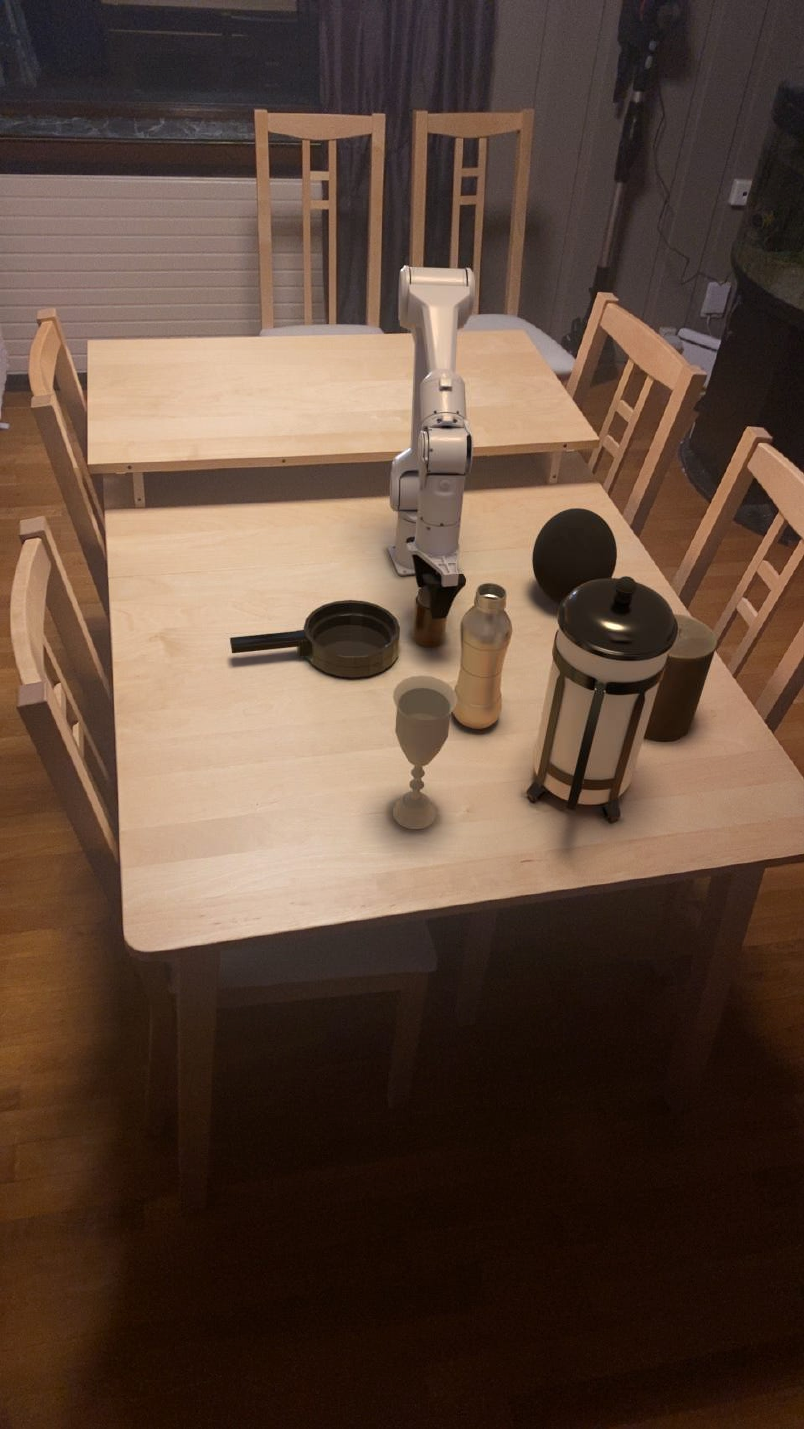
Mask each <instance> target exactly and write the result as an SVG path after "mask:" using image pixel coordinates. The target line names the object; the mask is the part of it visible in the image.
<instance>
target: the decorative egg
mask: <svg viewBox="0 0 804 1429" xmlns="http://www.w3.org/2000/svg"><path fill="white" fill-rule="evenodd" d="M616 541H617V540H616V538H615V535H614V533H613V530H612V529H611V527H610V525H609V524H608V522H607V521H606V520H605V519H604V518H603V517H602V516H601V515H599V514H598V513H596V512H594V511H592V510H590V509H586V508H581V507H580V508H579V507H577V508H576V507H575V508H568V509H565V510H562V511H559V512H558V513H556V514H555V515H553V516H552V517H551V518H550V519H549V520H547V521H546V523H544V525H543V526H542V527H541V529H540V530H539V532H538V534H537V536H536V539H535V540H534V543H533V544H534V545H533V549H532V556H531V557H532V558H531V563H532V571H533V575H534V578H535V580H536V583H537V585H538V587H539V589H541V591H542V592H543V593H544V594H545V595H546V596H547V598H549V599H551V600H552V601H554V602H556V603H558V604H559V605H560V604H561V602H562V601H563V599H564V598H565V597H566V596H568V595H569V594H570V593H571V592H572V591H573V590H574V589H575V588H577V587H578V586H580V585H582V584H584V583H586V582H589V581H592V580H596V579H602V578H613V575H614V573H615V571H616V567H617V559H618V546H617V542H616Z"/></svg>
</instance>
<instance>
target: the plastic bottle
mask: <svg viewBox="0 0 804 1429" xmlns="http://www.w3.org/2000/svg"><path fill="white" fill-rule="evenodd" d="M475 590H476V591H475V596H474V599H473V606H471V607H470V608H469V609H468V610H467V611H466V612H465V613H464V615H463V617H462V619H461V620H460V625H459V632H460V634H459V635H460V665H459V672H458V675H457V681H456V685H455V687H454V688H453V690H454V692H455V694H456V697H457V699H456V705H455V707H454V709H453V711H452V713H453V716H454V717H455V719H456V720H457V721H458V722H459V724H461V725H462V726H464V727H466V728H470V729H473V730H478V729H479V730H481V729H486V728H489V727H491V726H492V725H493V724H494V723H496V721H497V720H498V719H499V716H500V713H501V711H502V706H503V703H502V698H503V697H502V691H501V690H502V674H503V667H504V662H505V658H506V655H507V653H508V652H507V651H508V649H509V646H510V642H511V640H512V635H513V625H512V620H511V618H510V617H509V614H508V613H507V612H506V610H505V609H506V608H507V607H506V606H507V596H508V594H507V589H506V588H504V586H502V585H500V584H498V583H493V582H484V583H481V584H479V585H478V586H477V587H476V589H475Z"/></svg>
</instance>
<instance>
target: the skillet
mask: <svg viewBox="0 0 804 1429" xmlns="http://www.w3.org/2000/svg"><path fill="white" fill-rule="evenodd" d="M303 630H304V633H305V637H306V640H307V657H306V658H307V659H308V660H309V662H310V663H311V664H312V666H314V667H316V668H318V669H319V670H321V671H323V672H324V673H327V674H330V675H334V676H337V677H344V678H345V677H346V678H361V677H362V678H363V677H370V676H372V675H376V674H378V673H382V672H383V671H385V670H386V669H387V668H389V667H390V666H392V665H393V664H394V663H395V661H396V660H397V658H398V656H399V649H400V636H401V626H400V624H399V621H398V619H397V618H396V617H395V615H394V614H392V612H391V611H389V610H388V609H386V608H384V607H383V606H381V605H379V604H376V603H372V602H370V601H367V600H356V599H344V600H335V601H331V602H328V603H325V604H322V605H321V606H318V607H317V608H316V609H314V610H312V611H311V612H310V613H309V615H308V616H307V617H306V618H305V621H304V625H303Z"/></svg>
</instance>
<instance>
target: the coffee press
mask: <svg viewBox="0 0 804 1429" xmlns="http://www.w3.org/2000/svg"><path fill="white" fill-rule="evenodd" d="M674 614H675V613H674V612H673V609H672V607H671V606H670V604H669V603H668V601H667V600H666V599H665V597H664V596H662V595H661V594H660V593H659V592H657V591H656V590H654V589H653V588H651V587H649V586H647V585H645V584H643V583H640V582H638V581H636V580H635V579H634V578H633V577H631V576H629V575H628V576H626V575H625V576H621V577H619V578H617V577H612V578H602V579H596V580H592V581H589V582H586V583H584V584H582V585H580V586H578V587H577V588H575V589H574V590H573V591H572V592H571V593H570V594H569V595H568V596H566V597H565V598H564V599H563V601H562V602H561V604H560V603H559V607H558V611H557V615H556V616H557V624H558V628H557V629H556V632H555V635H554V639H553V645H552V650H551V656H552V659H551V660H552V661H551V664H550V665H551V666H550V671H549V676H548V681H547V686H546V691H545V697H544V703H543V706H542V711H541V716H540V722H539V726H538V733H537V737H536V743H535V748H534V755H533V768H534V769H533V770H534V772H535V775H536V777H535V779H534V781H533V782H532V783H531V785H530V786H529V787H528V788H527V790H526V792H525V793H526V796H527V797H528V798H529V799H530V800H531V802H532V803H538V802H539V801H540V800H542V798H543V797H544V796H545V795H546V794H547V793H549V792H550V793H552V794H553V795H555V796H556V797H558V798H561V799H562V800H564V801H567V802H566V808H565V810H566V811H571V812H574V813H575V812H576V811H577V808H578V804H580V805H590V806H591V805H599V806H600V808H601V810H602V814H603V816H604V819H605V821H607V822H612V821H615V820H618V819H620V818H621V814H622V813H621V809H620V808H621V807H620V803H619V797H620V796H622V794H623V793H624V792H626V790H627V789H628V788H629V785H630V783H631V781H632V778H633V775H634V771H635V769H636V765H637V761H638V758H639V755H640V752H641V748H642V745H643V741H644V738H645V737H644V734H645V731H646V727H647V724H648V721H649V717H650V714H651V710H652V707H653V703H654V700H655V696H656V693H657V690H658V686H659V683H660V681H661V680H662V678H663V676H664V673H665V670H666V666H667V663H668V659H669V654H668V652H669V649H670V648H671V647H672V646H673V645H674V643H675V641H676V638H677V634H678V624H677V621H676V618H675V617H674Z"/></svg>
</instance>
